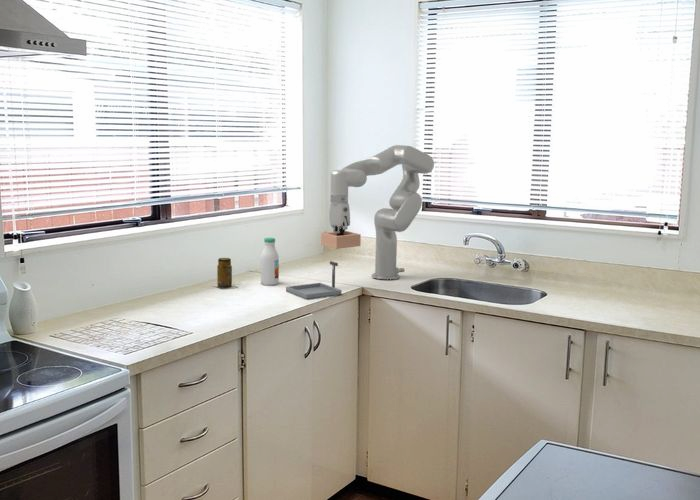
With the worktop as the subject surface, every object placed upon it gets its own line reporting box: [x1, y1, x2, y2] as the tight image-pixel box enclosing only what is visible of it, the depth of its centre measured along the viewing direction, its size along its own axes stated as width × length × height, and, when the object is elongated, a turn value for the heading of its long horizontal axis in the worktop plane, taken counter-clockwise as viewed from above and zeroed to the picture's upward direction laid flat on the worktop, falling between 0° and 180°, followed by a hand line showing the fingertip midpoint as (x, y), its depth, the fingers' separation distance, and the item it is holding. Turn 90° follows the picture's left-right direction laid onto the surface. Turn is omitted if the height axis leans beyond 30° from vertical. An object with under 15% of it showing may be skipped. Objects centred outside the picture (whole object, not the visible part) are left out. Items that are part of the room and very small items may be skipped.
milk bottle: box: [260, 237, 280, 286], centre depth 329 cm, size 8×8×20 cm
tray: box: [285, 282, 342, 300], centre depth 313 cm, size 17×17×2 cm
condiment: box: [212, 257, 237, 290], centre depth 322 cm, size 7×8×12 cm
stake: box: [329, 260, 339, 288], centre depth 323 cm, size 1×5×11 cm, turn 34°
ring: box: [320, 230, 362, 250], centre depth 322 cm, size 12×12×5 cm
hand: (338, 241), depth 328 cm, fingers closed on ring, 1 cm apart
